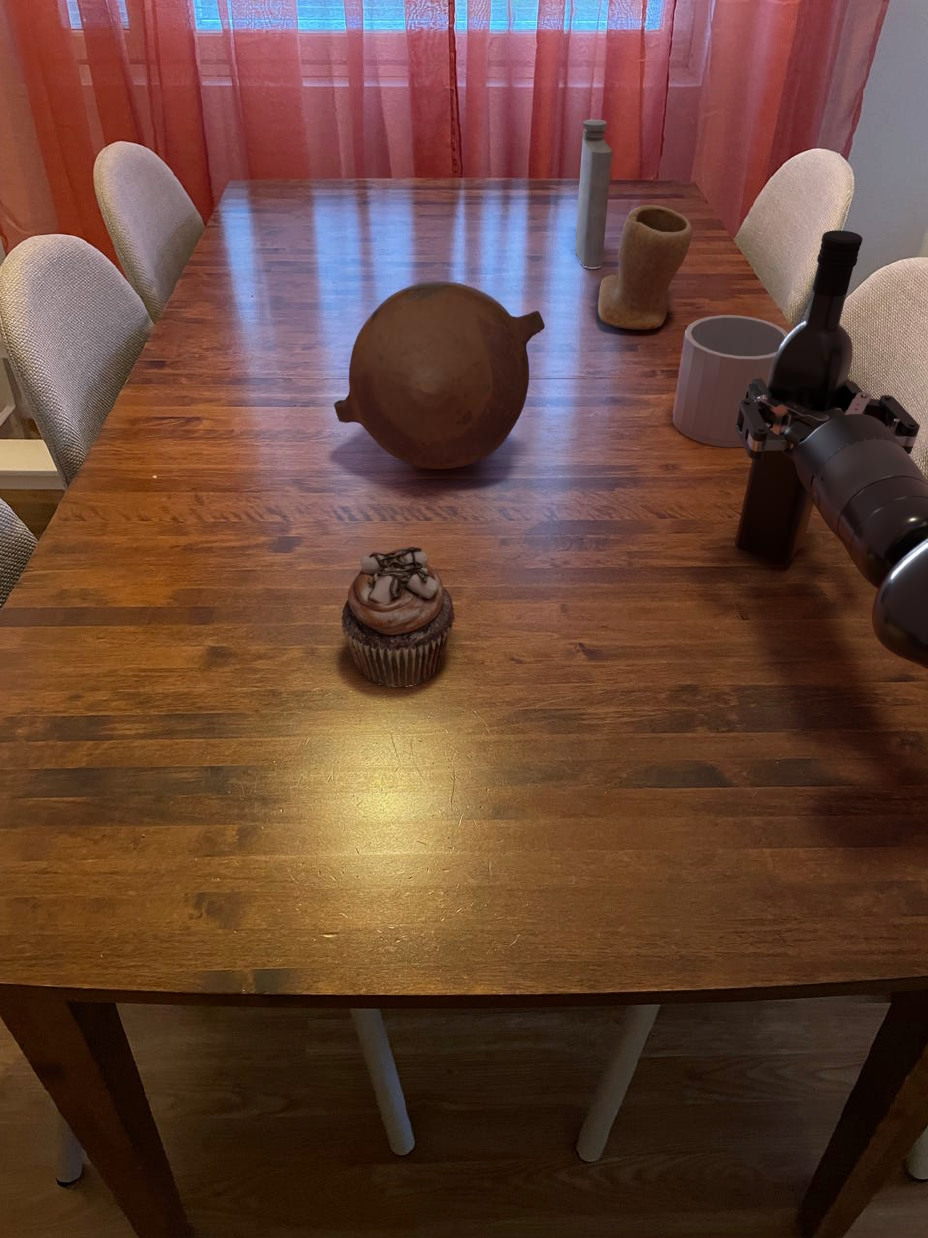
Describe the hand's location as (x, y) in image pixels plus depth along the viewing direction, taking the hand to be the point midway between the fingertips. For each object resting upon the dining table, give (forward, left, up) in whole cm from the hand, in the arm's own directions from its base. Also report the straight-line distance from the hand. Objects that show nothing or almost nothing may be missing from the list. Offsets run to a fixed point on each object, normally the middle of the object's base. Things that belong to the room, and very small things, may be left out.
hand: (796, 386), depth 85 cm
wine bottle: (0, +2, -16) cm, 16 cm away
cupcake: (+35, +19, -17) cm, 43 cm away
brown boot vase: (+7, -56, -17) cm, 59 cm away
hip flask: (+13, -82, -17) cm, 85 cm away
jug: (+33, -21, -17) cm, 42 cm away
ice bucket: (0, -24, -17) cm, 29 cm away
